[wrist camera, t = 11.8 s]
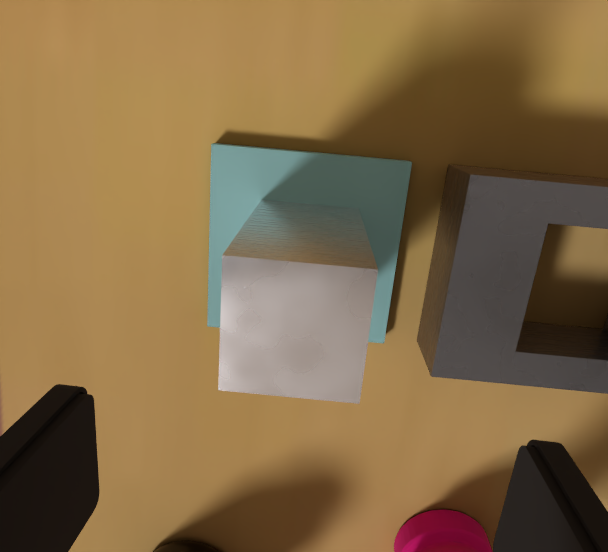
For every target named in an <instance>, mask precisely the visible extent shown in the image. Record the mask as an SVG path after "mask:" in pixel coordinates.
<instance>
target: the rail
mask: <svg viewBox="0 0 608 552" xmlns="http://www.w3.org/2000/svg"><path fill="white" fill-rule="evenodd" d="M548 223H549V224H560V225H571V226H582V227H593V228H603V229H608V179H602V178H591V177H581V176H570V175H559V174H548V173H537V172H526V171H515V170H504V169H493V168H482V167H471V166H461V165H450V164H449V165H448V171H447V176H446V182H445V187H444V193H443V198H442V204H441V209H440V215H439V221H438V226H437V232H436V237H435V243H434V248H433V254H432V260H431V265H430V271H429V276H428V282H427V287H426V293H425V298H424V304H423V310H422V315H421V321H420V326H419V332H418V337H417V342H418V344H419V347H420V349H421V352H422V355H423V357H424V360H425V362H426V365H427V367H428V370H429V372H430V375H431V376H432V377H442V378H453V379H463V380H473V381H483V382H494V383H504V384H514V385H524V386H535V387H545V388H555V389H566V390H576V391H586V392H596V393H607V394H608V315H607V318H606V322H605V325H604V328H603V329H597V328H587V327H576V326H566V325H555V324H545V323H535V322H524V321H523V320H524V316H525V312H526V308H527V304H528V300H529V296H530V293H531V289H532V285H533V281H534V277H535V273H536V269H537V265H538V261H539V257H540V254H541V250H542V246H543V242H544V238H545V234H546V230H547V226H548Z"/></svg>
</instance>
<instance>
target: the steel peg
mask: <svg viewBox="0 0 608 552" xmlns="http://www.w3.org/2000/svg"><path fill="white" fill-rule="evenodd" d="M377 274H378V268H377V264H376V261H375V258H374V255H373V252H372V249H371V246H370V243H369V240H368V236H367V233H366V230H365V227H364V224H363V221H362V218H361V215H360V211H359V208H349V207H338V206H327V205H316V204H305V203H294V202H283V201H271V200H261V201H260V202H259V204H258V205H257V207H256V208H255V209H254V211H253V212H252V214H251V215H250V217H249V218H248V219H247V221H246V222H245V224H244V225H243V226H242V228H241V229H240V231H239V232H238V234H237V235H236V236H235V238H234V239H233V241H232V242H231V243H230V245H229V246H228V248H227V249H226V251H225V252H224V253H223V255H222V280H221V316H220V351H219V387H218V390H222V391H232V392H243V393H253V394H263V395H274V396H284V397H295V398H305V399H316V400H326V401H337V402H347V403H358V404H359V403H360V396H361V388H362V381H363V374H364V367H365V360H366V353H367V346H368V338H369V331H370V324H371V317H372V310H373V303H374V295H375V288H376V281H377Z"/></svg>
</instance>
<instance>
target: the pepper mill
mask: <svg viewBox="0 0 608 552" xmlns="http://www.w3.org/2000/svg"><path fill="white" fill-rule="evenodd" d="M394 551H395V552H493V551H492V549H491V546H490V543H489V540H488V537H487V535H486V533H485V531H484V529H483V528H482V526H481V525H480V524H479V523H478V522H477V521H475V520H474V519H473V518H471V517H470V516H468V515H465V514H463V513H461V512H458V511H452V510H445V509H441V510H431V511H427V512H424V513H421V514H418V515H417V516H415V517H413V518H411V519H410V520H408V521H407V522H406V523H405V524H404V525H403V526H402V527H401V529H400V530H399V532H398V534H397V536H396V539H395V543H394Z"/></svg>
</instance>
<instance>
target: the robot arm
mask: <svg viewBox="0 0 608 552" xmlns="http://www.w3.org/2000/svg"><path fill="white" fill-rule="evenodd" d="M98 498H99V478H98V461H97V444H96V427H95V410H94V398H93V396H92V395H89V394H87V391H86V389H85V388H84V387H78V386H69V385H61V384H59V385H55V386H54V387H53V388H52V389H51V390H49V391H48V392H47V393H46V394H45V395H44V396H43V397H42V398H41V399H40V400H39V401H38V402H37V403H36V404H35V405H34V406H32V407H31V408H30V409H29V410H28V411H27V412H26V413H25V414H24V415H23V416H22V417H21V418H20V419H19V420H18V421H16V422H15V423H14V424H13V425H12V426H11V427H10V428H9V429H8V430H7V431H6V432H5V433H4V434H3V435H2V436H0V552H68V551H69V550H70V548H71V546H72V545H73V543H74V542H75V540H76V538H77V537H78V535H79V534H80V532H81V530H82V529H83V527H84V526H85V524H86V522H87V521H88V519H89V518H90V516H91V515H92V513H93V511H94V509H95V508H96V505H97V502H98ZM493 552H608V512H607V510H606V509H605V507H604V506H603V504H602V503H601V501H600V500H599V498H598V497H597V495H596V494H595V492H594V491H593V489H592V488H591V486H590V485H589V483H588V482H587V480H586V479H585V477H584V476H583V474H582V473H581V471H580V470H579V468H578V467H577V466H576V464H575V463H574V461H573V460H572V458H571V457H570V455H569V454H568V452H567V451H566V449H565V448H564V446H563V445H562V444H560V443H556V442H548V441H539V440H531V441H529V443H528V444H527V446H521V447H520V448H519V451H518V454H517V458H516V461H515V465H514V469H513V473H512V476H511V480H510V484H509V487H508V491H507V495H506V498H505V502H504V506H503V509H502V513H501V517H500V520H499V524H498V528H497V532H496V535H495V539H494V544H493Z"/></svg>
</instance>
